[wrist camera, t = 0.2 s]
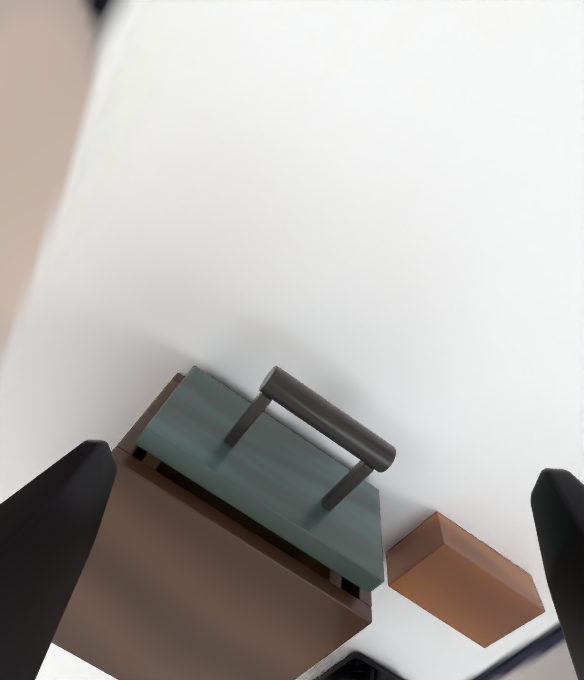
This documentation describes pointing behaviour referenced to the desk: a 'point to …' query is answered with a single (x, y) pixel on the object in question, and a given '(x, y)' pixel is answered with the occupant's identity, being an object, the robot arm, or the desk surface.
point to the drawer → (276, 471)
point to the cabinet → (196, 589)
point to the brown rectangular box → (462, 581)
